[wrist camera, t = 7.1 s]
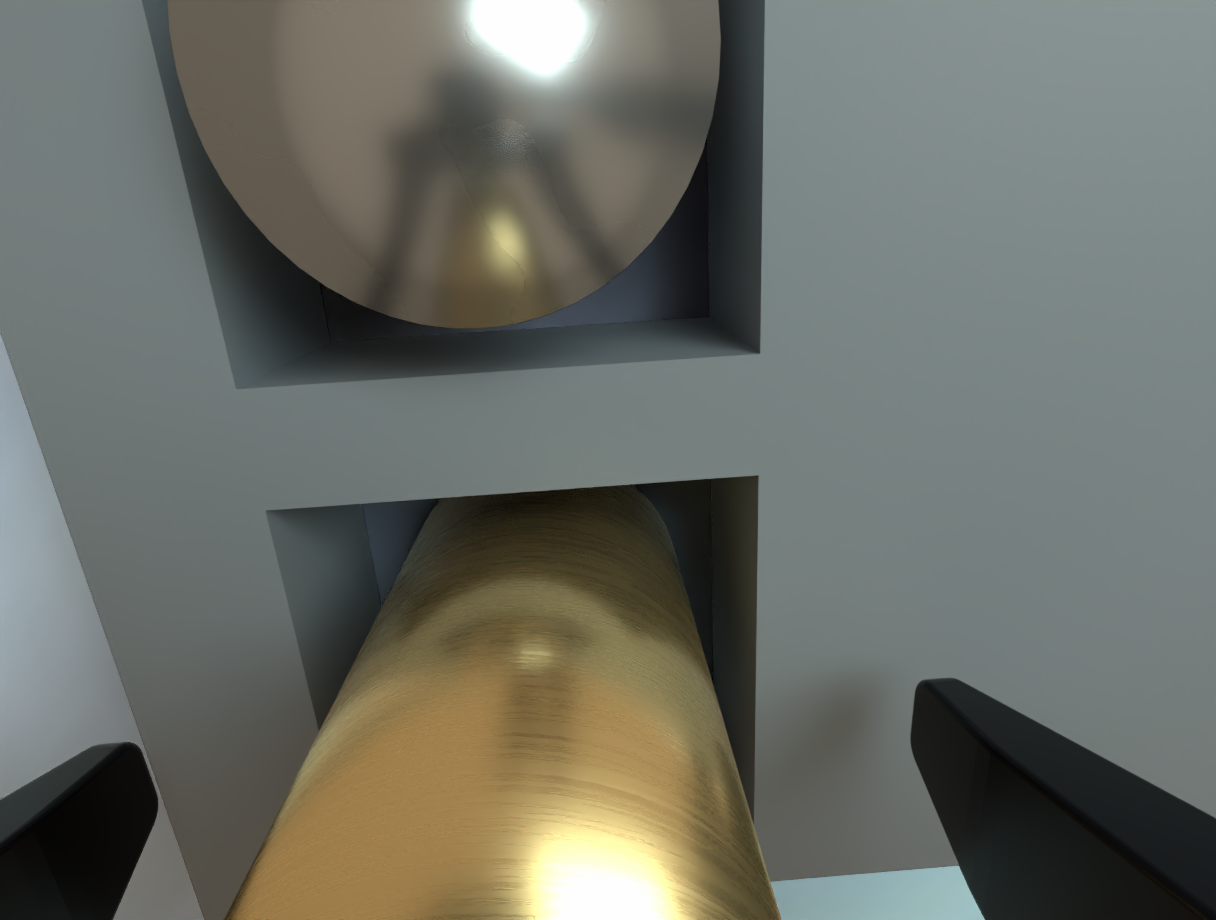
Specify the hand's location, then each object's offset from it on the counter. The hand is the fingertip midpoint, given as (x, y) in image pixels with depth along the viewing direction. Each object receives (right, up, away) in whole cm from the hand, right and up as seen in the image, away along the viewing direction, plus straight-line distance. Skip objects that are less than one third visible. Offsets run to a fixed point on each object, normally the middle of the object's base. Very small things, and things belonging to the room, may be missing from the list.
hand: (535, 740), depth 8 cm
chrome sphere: (-1, +8, +1) cm, 8 cm away
